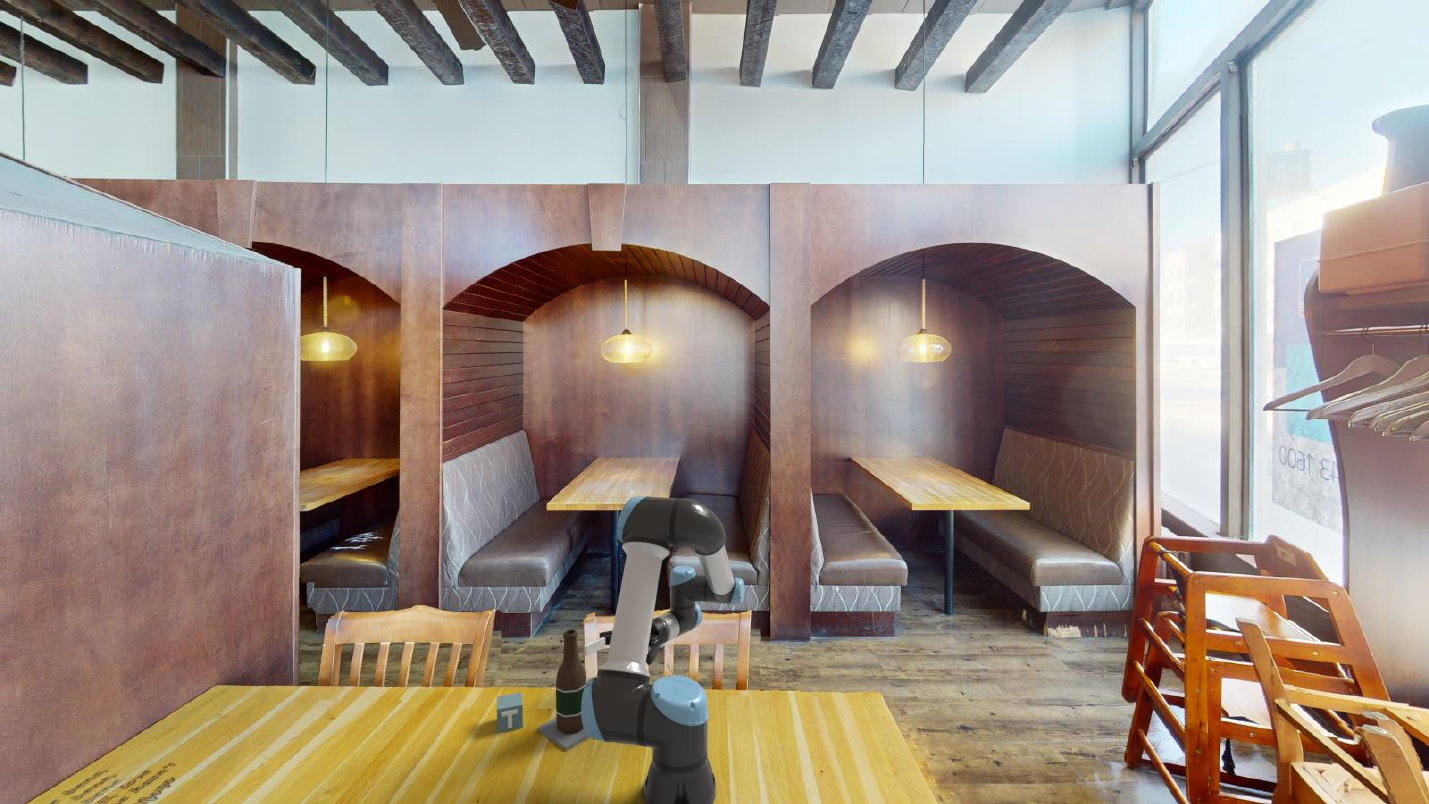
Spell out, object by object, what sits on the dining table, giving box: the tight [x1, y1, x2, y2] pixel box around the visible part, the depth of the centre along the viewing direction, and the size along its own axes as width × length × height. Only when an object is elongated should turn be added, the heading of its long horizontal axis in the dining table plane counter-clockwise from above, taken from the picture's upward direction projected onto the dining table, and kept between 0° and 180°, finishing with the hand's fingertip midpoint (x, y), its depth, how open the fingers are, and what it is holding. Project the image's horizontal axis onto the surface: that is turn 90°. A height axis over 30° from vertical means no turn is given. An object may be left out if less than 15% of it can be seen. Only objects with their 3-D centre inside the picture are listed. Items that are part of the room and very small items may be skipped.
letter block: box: [496, 691, 524, 733], centre depth 149 cm, size 6×6×6 cm
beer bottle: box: [555, 628, 587, 734], centre depth 146 cm, size 8×8×24 cm
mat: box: [536, 716, 590, 751], centre depth 147 cm, size 12×12×1 cm
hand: (601, 659), depth 153 cm, fingers open, 13 cm apart
